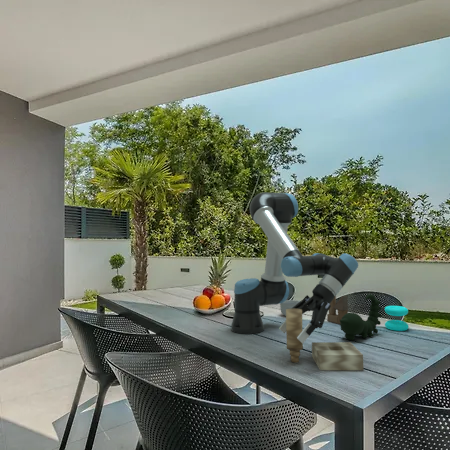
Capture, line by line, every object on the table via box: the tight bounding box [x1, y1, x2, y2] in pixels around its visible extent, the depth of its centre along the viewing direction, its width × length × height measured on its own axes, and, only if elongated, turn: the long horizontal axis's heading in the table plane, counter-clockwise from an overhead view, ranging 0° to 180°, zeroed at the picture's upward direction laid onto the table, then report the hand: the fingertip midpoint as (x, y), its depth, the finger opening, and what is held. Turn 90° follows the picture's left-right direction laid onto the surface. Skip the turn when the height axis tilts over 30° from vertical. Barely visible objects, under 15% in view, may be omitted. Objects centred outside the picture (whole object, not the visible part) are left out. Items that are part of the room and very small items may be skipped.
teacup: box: [279, 299, 301, 317], centre depth 205 cm, size 14×11×8 cm
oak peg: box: [285, 308, 304, 364], centre depth 132 cm, size 6×6×18 cm
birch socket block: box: [311, 341, 364, 371], centre depth 130 cm, size 14×14×5 cm
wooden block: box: [326, 295, 349, 325], centre depth 187 cm, size 4×11×18 cm, turn 29°
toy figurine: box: [339, 293, 383, 341], centre depth 161 cm, size 9×19×25 cm
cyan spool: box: [384, 305, 409, 332], centre depth 174 cm, size 10×10×10 cm
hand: (290, 335), depth 132 cm, fingers open, 13 cm apart
